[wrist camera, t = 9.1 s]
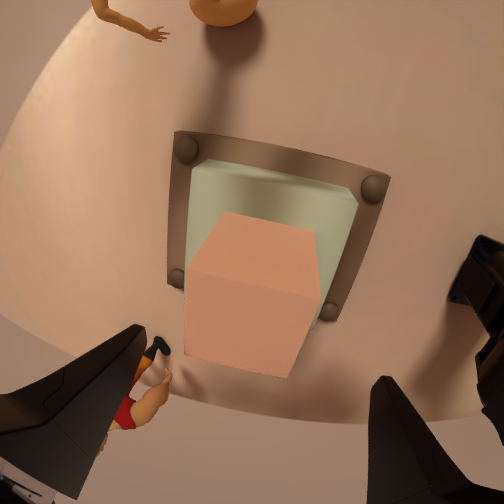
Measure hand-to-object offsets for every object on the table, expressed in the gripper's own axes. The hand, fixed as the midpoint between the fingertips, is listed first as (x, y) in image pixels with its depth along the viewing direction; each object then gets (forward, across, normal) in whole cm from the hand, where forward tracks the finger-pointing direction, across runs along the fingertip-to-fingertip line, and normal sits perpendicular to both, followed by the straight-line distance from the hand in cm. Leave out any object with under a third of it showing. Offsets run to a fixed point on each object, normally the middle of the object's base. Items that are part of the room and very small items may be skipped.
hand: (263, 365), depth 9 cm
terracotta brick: (+8, +1, 0) cm, 8 cm away
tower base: (+12, +1, 0) cm, 12 cm away
